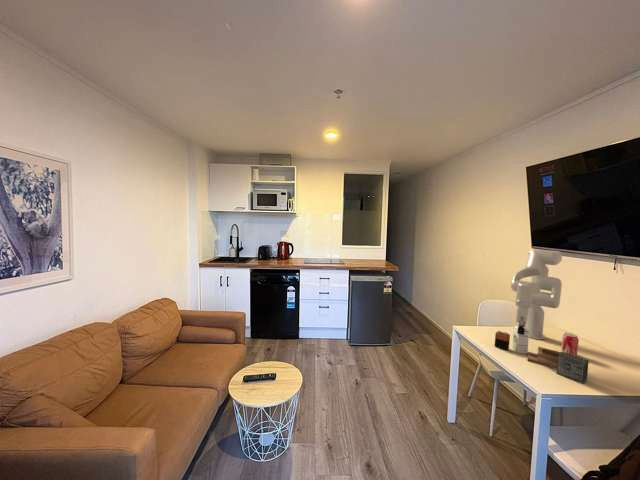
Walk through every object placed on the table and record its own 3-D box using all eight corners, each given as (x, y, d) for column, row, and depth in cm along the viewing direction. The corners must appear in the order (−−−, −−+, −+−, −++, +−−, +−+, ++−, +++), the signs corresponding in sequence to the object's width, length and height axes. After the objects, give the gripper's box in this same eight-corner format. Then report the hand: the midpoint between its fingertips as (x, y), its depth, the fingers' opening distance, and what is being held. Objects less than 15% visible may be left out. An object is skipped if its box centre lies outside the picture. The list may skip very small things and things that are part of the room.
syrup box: (527, 354, 160) (529, 330, 159) (516, 352, 161) (518, 329, 160) (522, 349, 165) (524, 326, 164) (512, 348, 167) (513, 325, 166)
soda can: (560, 350, 166) (562, 331, 165) (575, 353, 162) (577, 334, 161) (562, 354, 160) (563, 335, 159) (578, 358, 156) (580, 338, 155)
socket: (528, 353, 160) (528, 344, 160) (574, 365, 148) (574, 355, 147) (527, 360, 152) (528, 351, 151) (576, 374, 139) (577, 363, 139)
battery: (507, 350, 163) (508, 334, 163) (494, 346, 168) (495, 331, 168) (509, 348, 166) (510, 332, 166) (496, 344, 171) (497, 329, 171)
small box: (587, 380, 134) (589, 359, 133) (583, 384, 131) (585, 363, 130) (560, 370, 143) (562, 351, 142) (555, 373, 139) (557, 354, 139)
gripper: (516, 299, 170) (514, 326, 171) (514, 305, 157) (512, 334, 158) (531, 302, 165) (529, 329, 166) (531, 308, 152) (528, 338, 153)
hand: (521, 331), depth 162 cm, fingers open, 9 cm apart
